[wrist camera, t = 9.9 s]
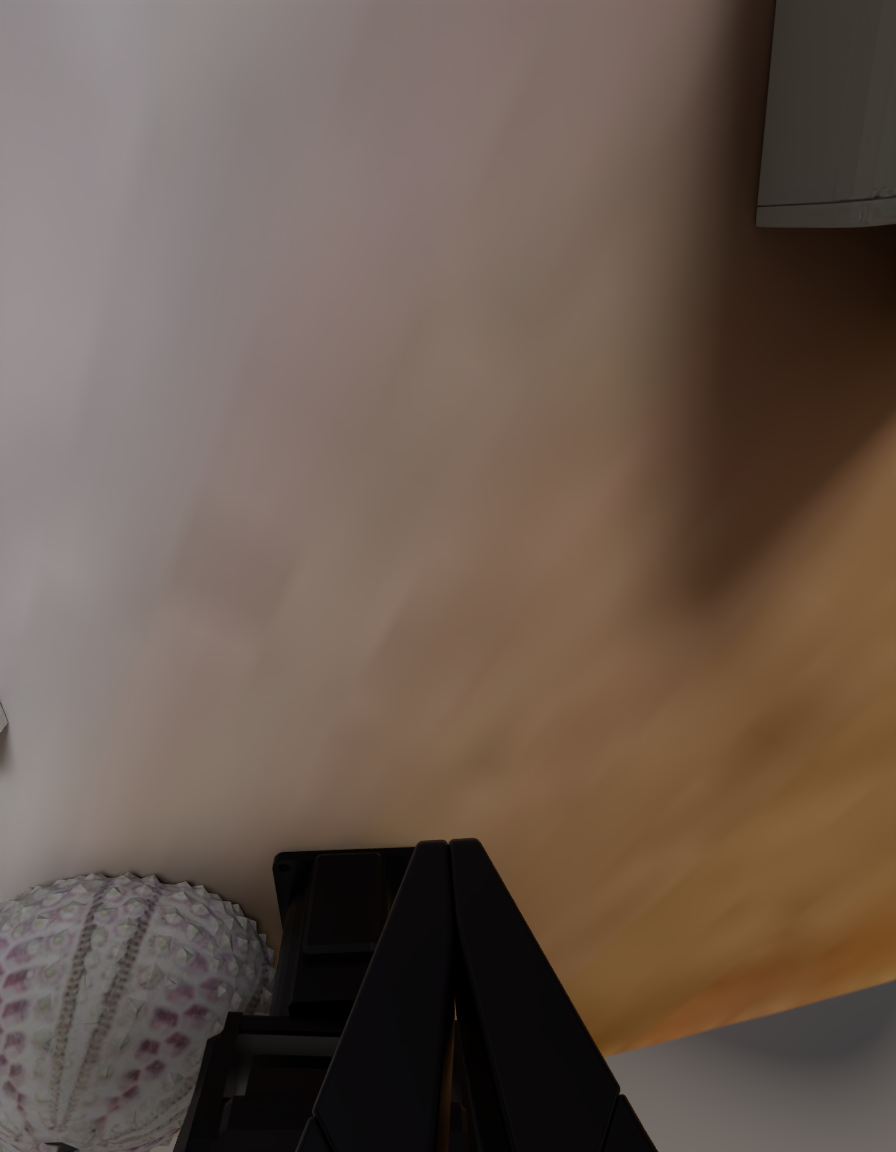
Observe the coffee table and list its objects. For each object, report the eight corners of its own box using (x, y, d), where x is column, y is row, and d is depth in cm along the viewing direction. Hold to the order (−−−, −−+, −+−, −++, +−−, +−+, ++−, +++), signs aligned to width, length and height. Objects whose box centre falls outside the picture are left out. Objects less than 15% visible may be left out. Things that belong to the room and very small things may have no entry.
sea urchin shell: (345, 943, 31) (327, 1153, 24) (152, 1046, 34) (86, 1256, 27) (125, 791, 26) (19, 1005, 19) (-80, 931, 29) (-236, 1157, 22)
